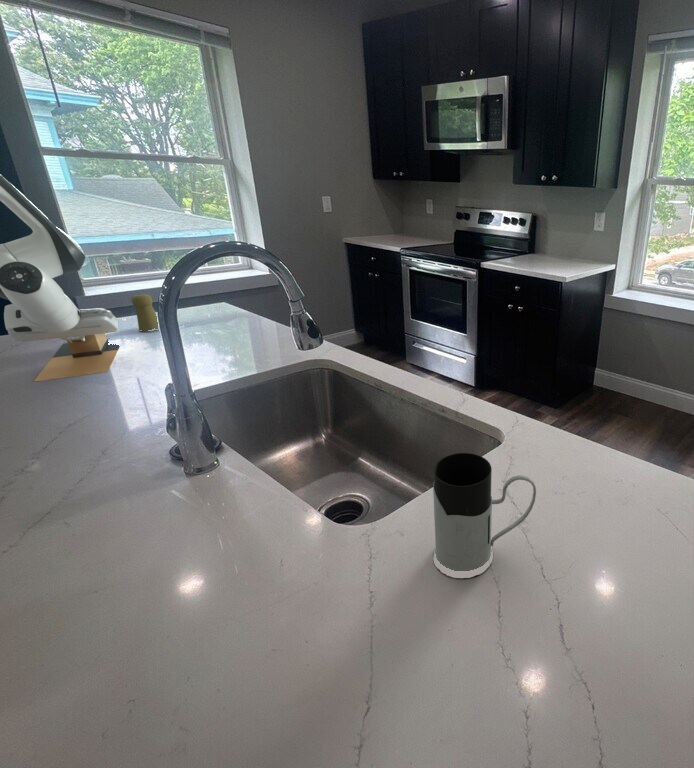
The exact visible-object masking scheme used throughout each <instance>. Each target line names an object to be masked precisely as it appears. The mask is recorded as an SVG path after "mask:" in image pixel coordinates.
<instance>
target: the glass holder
mask: <svg viewBox="0 0 694 768" xmlns="http://www.w3.org/2000/svg"><path fill="white" fill-rule="evenodd" d="M492 471H493V470H492V465H491V462H490V461H488V460H487V459H486V458H485V457H483V456H482V455H479V454H476V453H471V452H458V453H452V454H448V455H446V456H444V457H442V458H441V459H439V460H438V461H437V462H436V464H435V465H434V468H433V480H434V481H433V482H432V492H433V493H432V495H433V517H434V518H433V519H434V540H435V541H434V542H435V548H436V549H435V548H434V550H435V554H436V558H437V560H438V561H439V562H440V564H442V565H443V566H445V567H446V568H449V569H451V570H454V571H470V570H474V569H477V568H479V567H481V566H483V565H484V564H485V563H486V562H487V561H488V560H489V558H490V556H491V552H492V549H491V546H492V548H493V547H494V543H495V542H496V541H497V540H498V539H500V538H501V537H503V536H504V535H505V534H507V533H509V532H511V531H512V530H513V529H515V528H517V526H519V525H520V524H522V523H523V522H524V521H525V520H526V519H527V518H528V516H529V515H530V513H531V511H532V510H533V507H534V504H535V502H536V498H537V497H536V496H537V487H536V483H535V482H534V480H533V479H532V478H530V477H529V476H526V475H523V474H521V475H519V474H517V475H515V476H512V477H510V478H508V479H507V480H506V481H505V483H504V486H503V489H502V496H501V497H500V498H498V499H493V498H492V474H493V473H492ZM515 481H525V482H528V483H529V484H530V485H531V486H532V489H533V490H532V491H533V493H532V498H531V501H530V503H529V506H528V507H527V508H526V510H525V512H524V513H523V514H522V515H521V516H520V517H519V518H518V519H517V520H515V521H514V522H513V523H512V524H510V525H508V526H507V527H505V528H504V529H502V530H501V531H499V532H497V533H496V534H494V535H493V537H492V524H493V522H492V519H493V505H500V504H502V503H503V502H504V501H505V500H506V496H507V495H506V494H507V490H508V487H509V486H510V485H511V484H512V483H514V482H515Z"/></svg>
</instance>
